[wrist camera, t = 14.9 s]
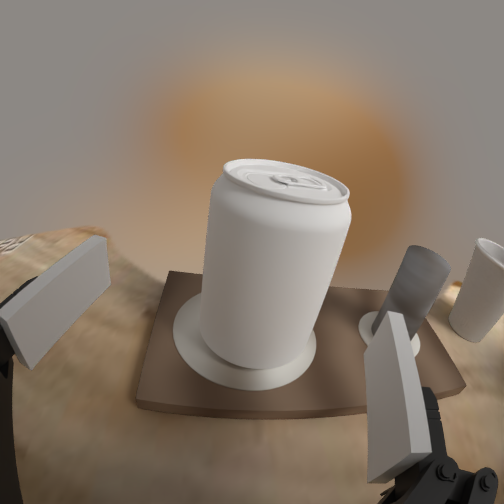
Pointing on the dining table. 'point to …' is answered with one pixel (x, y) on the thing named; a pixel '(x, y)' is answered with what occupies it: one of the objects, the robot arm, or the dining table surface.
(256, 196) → the beverage can
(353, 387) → the board
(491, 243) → the dixie cup
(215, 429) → the dining table surface
